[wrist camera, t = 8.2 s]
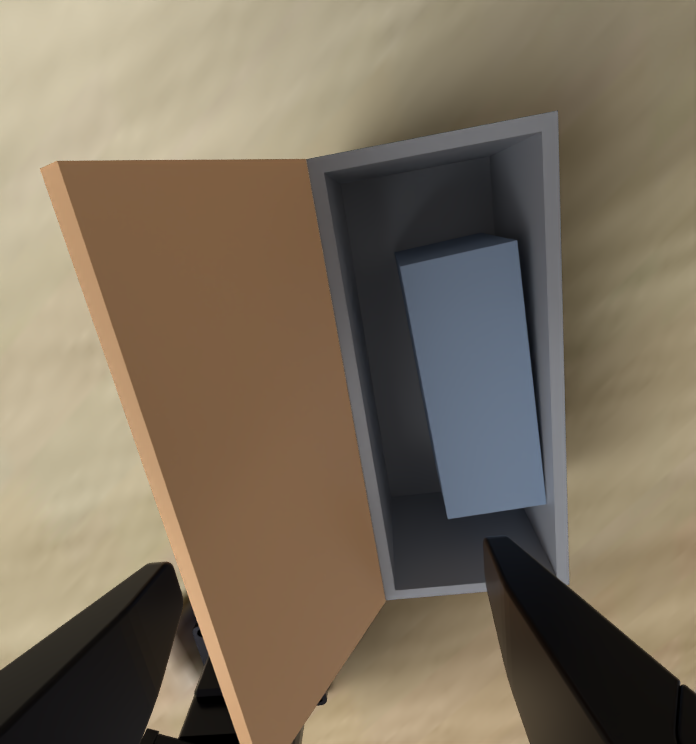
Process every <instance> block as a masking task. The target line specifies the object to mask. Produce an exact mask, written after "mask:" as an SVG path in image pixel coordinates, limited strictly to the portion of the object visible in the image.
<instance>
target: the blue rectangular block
mask: <svg viewBox="0 0 696 744" xmlns="http://www.w3.org/2000/svg"><path fill="white" fill-rule="evenodd" d="M394 254H395V259H396V264H397V269H398V275H399V280H400V285H401V290H402V295H403V301H404V306H405V311H406V316H407V321H408V327H409V332H410V337H411V342H412V348H413V353H414V358H415V363H416V368H417V374H418V379H419V384H420V389H421V394H422V400H423V405H424V410H425V415H426V420H427V426H428V431H429V436H430V441H431V447H432V452H433V456H434V460H435V465H436V469H437V473H438V478H439V482H440V487H441V491H442V495H443V500H444V504H445V509H446V513H447V517H448V519H453V518H459V517H466V516H473V515H479V514H486V513H492V512H499V511H505V510H512V509H519V508H525V507H532V506H538V505H545V504H546V495H545V486H544V477H543V468H542V459H541V450H540V441H539V432H538V423H537V414H536V405H535V396H534V387H533V378H532V369H531V360H530V351H529V342H528V333H527V324H526V315H525V306H524V297H523V288H522V279H521V270H520V261H519V252H518V243H517V240H513V239H508V238H504V237H499V236H494V235H490V234H485V233H477V234H472V235H468V236H464V237H459V238H455V239H451V240H446V241H442V242H437V243H433V244H429V245H424V246H420V247H415V248H411V249H407V250H402V251H398V252H394Z"/></svg>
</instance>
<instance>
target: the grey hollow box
mask: <svg viewBox="0 0 696 744" xmlns="http://www.w3.org/2000/svg"><path fill="white" fill-rule="evenodd" d="M306 161H307V167H308V172H309V178H310V183H311V189H312V194H313V200H314V205H315V211H316V216H317V222H318V228H319V233H320V239H321V244H322V250H323V255H324V261H325V266H326V272H327V277H328V283H329V288H330V294H331V300H332V305H333V311H334V316H335V322H336V327H337V333H338V338H339V344H340V349H341V355H342V360H343V366H344V372H345V377H346V383H347V388H348V394H349V399H350V405H351V410H352V416H353V421H354V427H355V432H356V438H357V444H358V449H359V455H360V460H361V466H362V471H363V477H364V482H365V488H366V493H367V499H368V504H369V510H370V516H371V521H372V527H373V532H374V538H375V543H376V549H377V554H378V560H379V565H380V571H381V576H382V582H383V588H384V593H385V599H386V600H395V599H406V598H418V597H430V596H441V595H453V594H465V593H476V592H487V588H486V582H485V572H484V556H483V540H484V538H485V537H488V536H501V535H505V536H508V537H510V538H511V539H512V540H513V541H514V542H516V543H517V544H518V545H519V546H520V547H522V548H523V549H524V550H525V551H526V552H528V553H529V554H530V555H531V556H532V557H533V558H535V559H536V560H537V561H538V562H539V563H541V564H542V565H543V566H544V567H545V568H547V569H548V570H549V571H550V572H551V573H553V574H554V575H555V576H556V577H557V578H559V579H560V580H561V581H562V582H563V583H564V584H566V585H569V555H568V512H567V470H566V428H565V386H564V344H563V302H562V260H561V218H560V176H559V134H558V111H553V112H548V113H543V114H538V115H532V116H527V117H522V118H517V119H512V120H507V121H501V122H496V123H491V124H486V125H481V126H476V127H470V128H465V129H460V130H455V131H450V132H444V133H439V134H434V135H429V136H424V137H419V138H413V139H408V140H403V141H398V142H393V143H388V144H382V145H377V146H372V147H367V148H362V149H357V150H351V151H346V152H341V153H336V154H331V155H326V156H320V157H315V158H310V159H306ZM477 233H485V234H490V235H494V236H499V237H504V238H508V239H513V240H517V243H518V252H519V261H520V270H521V279H522V288H523V297H524V306H525V315H526V324H527V333H528V342H529V351H530V360H531V369H532V378H533V387H534V396H535V405H536V414H537V423H538V432H539V441H540V450H541V459H542V468H543V477H544V486H545V495H546V504H545V505H538V506H532V507H525V508H519V509H512V510H505V511H499V512H492V513H486V514H479V515H473V516H466V517H459V518H453V519H448V517H447V513H446V509H445V504H444V500H443V495H442V491H441V487H440V482H439V478H438V473H437V469H436V465H435V460H434V456H433V452H432V447H431V441H430V436H429V431H428V426H427V420H426V415H425V410H424V405H423V400H422V394H421V389H420V384H419V379H418V374H417V368H416V363H415V358H414V353H413V348H412V342H411V337H410V332H409V327H408V321H407V316H406V311H405V306H404V301H403V295H402V290H401V285H400V280H399V275H398V269H397V264H396V259H395V254H394V252H398V251H402V250H407V249H411V248H415V247H420V246H424V245H429V244H433V243H437V242H442V241H446V240H451V239H455V238H459V237H464V236H468V235H472V234H477Z"/></svg>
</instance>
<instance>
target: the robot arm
mask: <svg viewBox="0 0 696 744" xmlns="http://www.w3.org/2000/svg"><path fill="white" fill-rule="evenodd" d="M483 556H484V572H485V582H486V588H487V592H488V596H489V601H490V605H491V610H492V614H493V618H494V623H495V627H496V631H497V636H498V640H499V644H500V649H501V653H502V657H503V662H504V666H505V670H506V673H507V677H508V681H509V684H510V687H511V690H512V693H513V696H514V699H515V702H516V705H517V708H518V711H519V713H520V716H521V719H522V722H523V725H524V728H525V731H526V734H527V737H528V739H529V742H530V744H696V693H695V692H694V691H692V690H691V689H690V688H689V687H688V686H686V685H681V686H680V681H679V679H678V678H677V677H675V676H674V675H673V674H672V673H671V672H669V671H668V670H667V669H666V668H665V667H663V666H662V665H661V664H660V663H659V662H657V661H656V660H655V659H654V658H653V657H651V656H650V655H649V654H648V653H647V652H646V651H644V650H643V649H642V648H641V647H640V646H638V645H637V644H636V643H635V642H634V641H632V640H631V639H630V638H629V637H628V636H626V635H625V634H624V633H623V632H622V631H620V630H619V629H618V628H617V627H616V626H615V625H613V624H612V623H611V622H610V621H609V620H607V619H606V618H605V617H604V616H603V615H601V614H600V613H599V612H598V611H597V610H595V609H594V608H593V607H592V606H591V605H590V604H588V603H587V602H586V601H585V600H584V599H582V598H581V597H580V596H579V595H578V594H576V593H575V592H574V591H573V590H572V589H570V588H569V587H568V586H567V585H566V584H564V583H563V582H562V581H561V580H560V579H559V578H557V577H556V576H555V575H554V574H553V573H551V572H550V571H549V570H548V569H547V568H545V567H544V566H543V565H542V564H541V563H539V562H538V561H537V560H536V559H535V558H533V557H532V556H531V555H530V554H529V553H528V552H526V551H525V550H524V549H523V548H522V547H520V546H519V545H518V544H517V543H516V542H514V541H513V540H512V539H511V538H510V537H508V536H505V535H501V536H488V537H485V538H484V540H483ZM182 609H183V596H182V592H181V589H180V586H179V583H178V579H177V576H176V573H175V570H174V567H173V565H172V564H171V563H169V562H155V563H149V564H147V565H145V566H144V567H142V568H141V569H139V570H138V571H137V572H135V573H134V574H133V575H131V576H130V577H128V578H127V579H126V580H124V581H123V582H122V583H120V584H119V585H117V586H116V587H115V588H113V589H112V590H110V591H109V592H108V593H106V594H105V595H104V596H102V597H101V598H99V599H98V600H97V601H95V602H94V603H93V604H91V605H90V606H88V607H87V608H86V609H84V610H83V611H82V612H80V613H79V614H77V615H76V616H75V617H73V618H72V619H71V620H69V621H68V622H66V623H65V624H64V625H62V626H61V627H59V628H58V629H57V630H55V631H54V632H53V633H51V634H50V635H48V636H47V637H46V638H44V639H43V640H42V641H40V642H39V643H37V644H36V645H35V646H33V647H32V648H31V649H29V650H28V651H26V652H25V653H24V654H22V655H21V656H19V657H18V658H17V659H15V660H14V661H13V662H11V663H10V664H8V665H7V666H6V667H4V668H3V669H2V670H0V744H240V743H239V740H238V737H237V734H236V731H235V728H234V725H233V723H232V720H231V717H230V714H229V711H228V708H227V705H226V702H225V700H224V697H223V694H222V691H221V688H220V685H219V682H218V679H217V677H216V674H215V671H214V668H213V665H212V662H211V659H210V656H209V654H208V651H207V648H206V645H205V642H204V639H203V636H202V633H201V631H200V628H199V625H198V622H197V623H196V625H195V627H194V629H193V636H194V639H195V642H196V644H197V647H198V650H199V653H200V656H201V659H202V661H203V664H204V668H203V671H202V673H201V676H200V678H199V681H198V684H197V686H196V689H195V693H194V694H195V695H194V698H193V700H192V703H191V705H190V708H189V711H188V713H187V716H186V719H185V721H184V724H183V727H182V729H181V732H180V735H179V737H178V739H177V738H173V737H169V736H165V735H162V734H159V731H156V730H153V729H149V728H147V730H146V732H145V729H146V726H147V724H148V721H149V719H150V716H151V713H152V711H153V708H154V705H155V702H156V700H157V697H158V694H159V691H160V687H161V684H162V681H163V677H164V674H165V670H166V666H167V663H168V659H169V656H170V652H171V649H172V645H173V641H174V638H175V634H176V631H177V627H178V624H179V620H180V616H181V613H182ZM327 693H328V692H327V691H326V692H325V694H324V695H323V697H322V698H321V700H320V701H319V703H318V704H317V706H319V705H323V704H325V703H326V702H327ZM303 730H304V725H303V727H302V728H301V730H300V731H299V733H298V734H297V736H296V737H295V739H294V740H293V742H292V743H291V744H302V737H303ZM144 732H145V734H144ZM143 734H144V736H143ZM142 737H143V738H142Z"/></svg>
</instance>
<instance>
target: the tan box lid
mask: <svg viewBox="0 0 696 744" xmlns="http://www.w3.org/2000/svg"><path fill="white" fill-rule="evenodd" d="M40 170H41V173H42V176H43V179H44V182H45V185H46V187H47V190H48V193H49V196H50V199H51V202H52V205H53V208H54V210H55V213H56V216H57V219H58V222H59V225H60V228H61V231H62V233H63V236H64V239H65V242H66V245H67V248H68V251H69V254H70V256H71V259H72V262H73V265H74V268H75V271H76V274H77V277H78V280H79V282H80V285H81V288H82V291H83V294H84V297H85V300H86V303H87V305H88V308H89V311H90V314H91V317H92V320H93V323H94V326H95V328H96V331H97V334H98V337H99V340H100V343H101V346H102V349H103V351H104V354H105V357H106V360H107V363H108V366H109V369H110V372H111V374H112V377H113V380H114V383H115V386H116V389H117V392H118V395H119V397H120V400H121V403H122V406H123V409H124V412H125V415H126V418H127V420H128V423H129V426H130V429H131V432H132V435H133V438H134V441H135V444H136V446H137V449H138V452H139V455H140V458H141V461H142V464H143V467H144V469H145V472H146V475H147V478H148V481H149V484H150V487H151V490H152V492H153V495H154V498H155V501H156V504H157V507H158V510H159V513H160V515H161V518H162V521H163V524H164V527H165V530H166V533H167V536H168V538H169V541H170V544H171V547H172V550H173V553H174V556H175V559H176V561H177V564H178V567H179V570H180V573H181V576H182V579H183V582H184V585H185V587H186V590H187V593H188V596H189V599H190V602H191V605H192V608H193V610H194V613H195V616H196V619H197V622H198V625H199V628H200V631H201V633H202V636H203V639H204V642H205V645H206V648H207V651H208V654H209V656H210V659H211V662H212V665H213V668H214V671H215V674H216V677H217V679H218V682H219V685H220V688H221V691H222V694H223V697H224V700H225V702H226V705H227V708H228V711H229V714H230V717H231V720H232V723H233V725H234V728H235V731H236V734H237V737H238V740H239V743H240V744H291V743H292V742H293V740H294V739H295V737H296V736H297V734H298V733H299V731H300V730H301V728H302V727H303V725H304V724H305V722H306V721H307V719H308V718H309V716H310V715H311V713H312V712H313V710H314V709H315V707H316V706H317V704H318V703H319V701H320V700H321V698H322V697H323V695H324V694H325V692H326V691H327V689H328V688H329V686H330V685H331V683H332V682H333V680H334V679H335V677H336V676H337V674H338V673H339V671H340V670H341V668H342V667H343V665H344V663H345V662H346V660H347V659H348V657H349V656H350V654H351V653H352V651H353V650H354V648H355V647H356V645H357V644H358V642H359V641H360V639H361V638H362V636H363V635H364V633H365V632H366V630H367V629H368V627H369V626H370V624H371V623H372V621H373V620H374V618H375V617H376V615H377V614H378V612H379V611H380V609H381V608H382V606H383V605H384V603H385V602H386V600H385V594H384V589H383V583H382V577H381V572H380V566H379V561H378V555H377V550H376V544H375V539H374V533H373V528H372V522H371V517H370V511H369V506H368V500H367V494H366V489H365V483H364V478H363V472H362V467H361V461H360V456H359V450H358V445H357V439H356V434H355V428H354V422H353V417H352V411H351V406H350V400H349V395H348V389H347V384H346V378H345V373H344V367H343V362H342V356H341V351H340V345H339V339H338V334H337V328H336V323H335V317H334V312H333V306H332V301H331V295H330V290H329V284H328V279H327V273H326V268H325V262H324V256H323V251H322V245H321V240H320V234H319V229H318V223H317V218H316V212H315V207H314V201H313V196H312V190H311V184H310V179H309V173H308V168H307V162H306V159H248V160H116V161H56V162H54V163H51V164H49V165H47V166H45V167H43V168H40Z"/></svg>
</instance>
